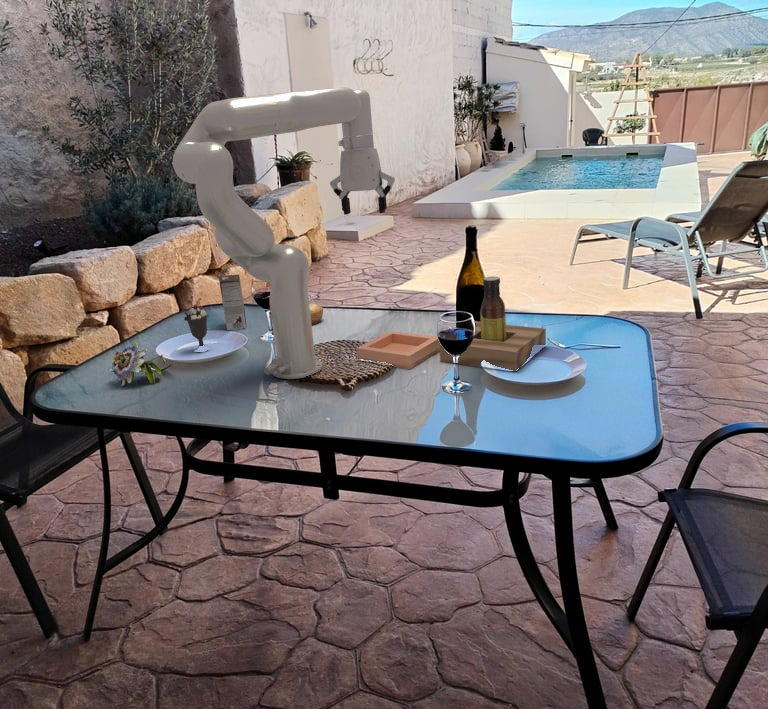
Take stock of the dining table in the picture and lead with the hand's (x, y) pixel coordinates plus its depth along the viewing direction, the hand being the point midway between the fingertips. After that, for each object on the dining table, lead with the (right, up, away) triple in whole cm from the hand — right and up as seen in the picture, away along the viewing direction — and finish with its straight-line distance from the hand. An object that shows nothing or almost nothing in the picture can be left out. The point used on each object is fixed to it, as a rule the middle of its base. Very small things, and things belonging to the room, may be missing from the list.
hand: (364, 213), depth 161 cm
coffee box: (-43, -28, +40) cm, 65 cm away
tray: (+9, -37, +1) cm, 38 cm away
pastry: (-20, -27, +39) cm, 51 cm away
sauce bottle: (+33, -37, -3) cm, 50 cm away
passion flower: (-57, -44, -3) cm, 72 cm away
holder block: (+33, -37, -3) cm, 49 cm away
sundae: (-47, -36, +18) cm, 62 cm away
